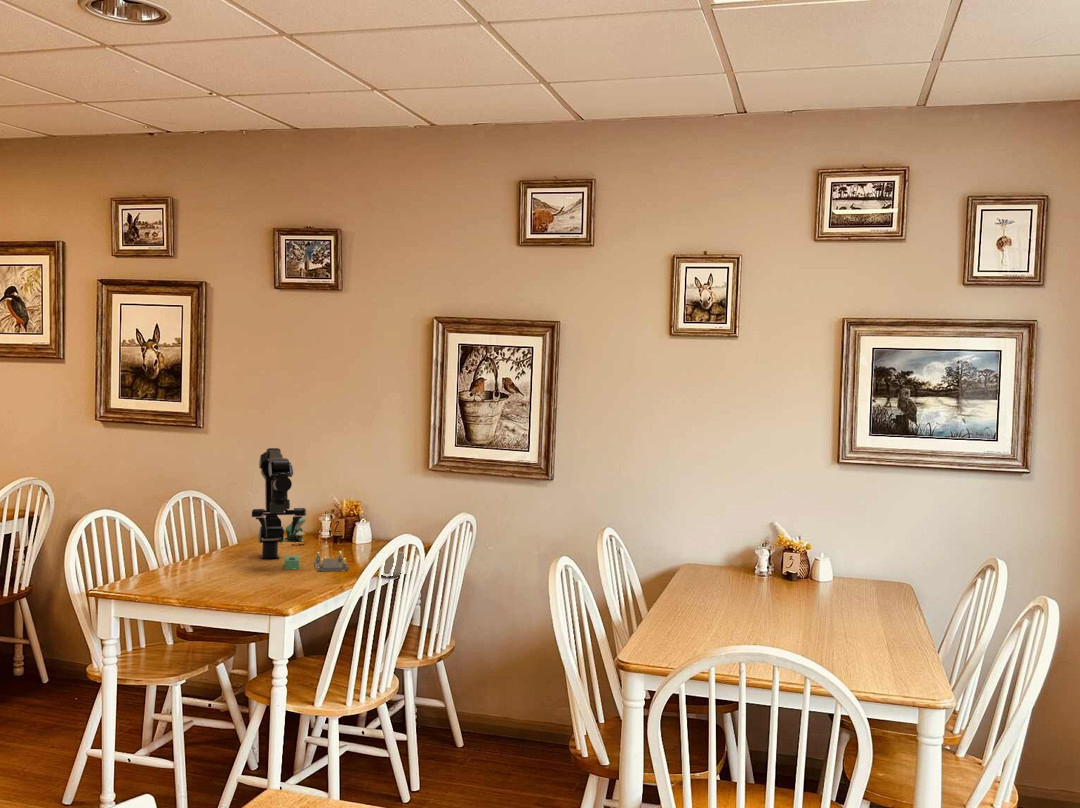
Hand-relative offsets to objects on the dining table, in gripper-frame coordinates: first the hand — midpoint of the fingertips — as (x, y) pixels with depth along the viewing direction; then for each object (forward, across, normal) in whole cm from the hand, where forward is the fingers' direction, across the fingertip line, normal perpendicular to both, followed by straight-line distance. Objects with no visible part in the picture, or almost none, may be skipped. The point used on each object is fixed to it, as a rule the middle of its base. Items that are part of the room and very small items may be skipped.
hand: (279, 536), depth 350 cm
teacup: (+15, +39, -3) cm, 42 cm away
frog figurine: (+3, -1, +55) cm, 55 cm away
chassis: (+12, +18, +9) cm, 23 cm away
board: (+11, +4, +8) cm, 14 cm away
